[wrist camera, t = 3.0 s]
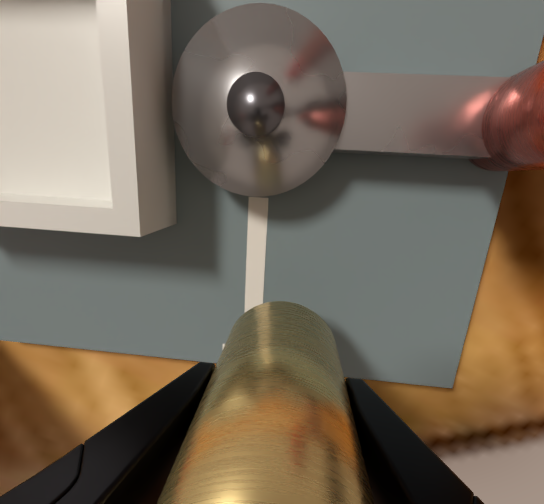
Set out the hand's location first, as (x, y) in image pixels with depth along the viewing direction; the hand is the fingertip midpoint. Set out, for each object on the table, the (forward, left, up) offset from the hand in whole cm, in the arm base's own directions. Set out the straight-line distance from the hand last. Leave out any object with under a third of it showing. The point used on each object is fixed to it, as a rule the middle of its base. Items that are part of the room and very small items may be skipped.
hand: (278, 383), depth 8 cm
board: (+3, -5, -4) cm, 7 cm away
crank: (-2, -7, -3) cm, 8 cm away
